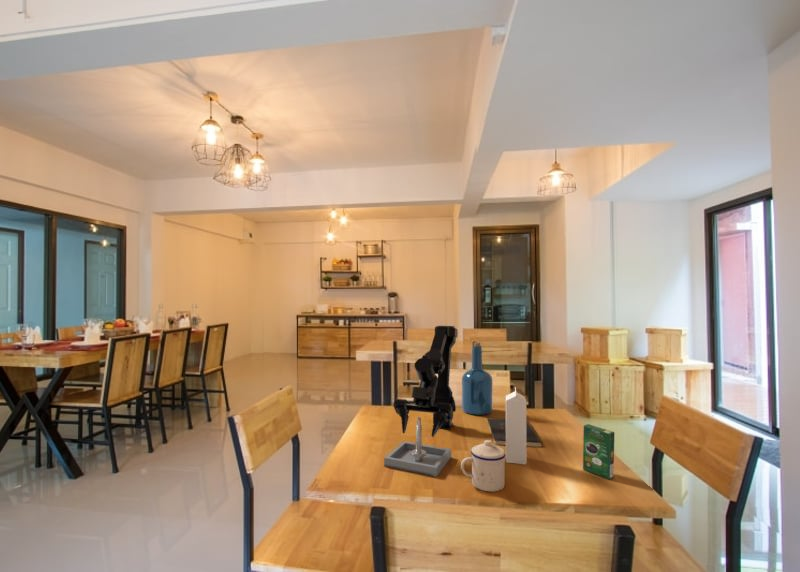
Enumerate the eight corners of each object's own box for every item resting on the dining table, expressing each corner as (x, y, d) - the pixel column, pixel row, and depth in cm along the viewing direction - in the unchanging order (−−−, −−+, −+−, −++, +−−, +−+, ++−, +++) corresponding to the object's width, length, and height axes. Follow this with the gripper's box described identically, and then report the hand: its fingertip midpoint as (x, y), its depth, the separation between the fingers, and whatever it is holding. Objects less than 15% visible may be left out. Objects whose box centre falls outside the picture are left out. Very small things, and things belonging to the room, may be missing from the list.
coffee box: (615, 478, 110) (615, 431, 110) (610, 480, 108) (610, 433, 108) (587, 467, 116) (587, 423, 116) (582, 470, 115) (582, 425, 115)
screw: (422, 464, 117) (408, 461, 119) (428, 458, 121) (414, 455, 123) (423, 420, 117) (408, 418, 119) (429, 415, 121) (414, 413, 123)
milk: (506, 462, 119) (505, 390, 120) (505, 454, 125) (505, 385, 125) (527, 464, 118) (526, 391, 118) (525, 456, 124) (524, 386, 124)
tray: (451, 457, 123) (451, 449, 123) (436, 477, 110) (436, 468, 110) (403, 448, 130) (403, 441, 130) (384, 466, 116) (384, 457, 116)
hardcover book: (494, 446, 134) (494, 439, 134) (487, 423, 156) (487, 418, 156) (542, 448, 132) (542, 441, 132) (528, 425, 154) (528, 419, 154)
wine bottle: (461, 406, 178) (461, 340, 179) (490, 407, 177) (490, 341, 178) (462, 415, 165) (462, 344, 165) (494, 417, 163) (494, 345, 164)
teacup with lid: (498, 475, 111) (498, 434, 111) (510, 492, 102) (510, 447, 102) (457, 477, 110) (457, 435, 110) (465, 494, 101) (465, 448, 101)
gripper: (395, 373, 127) (382, 418, 117) (451, 378, 121) (443, 425, 111) (402, 392, 135) (391, 435, 124) (456, 397, 128) (449, 443, 118)
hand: (417, 434), depth 119 cm, fingers open, 9 cm apart
